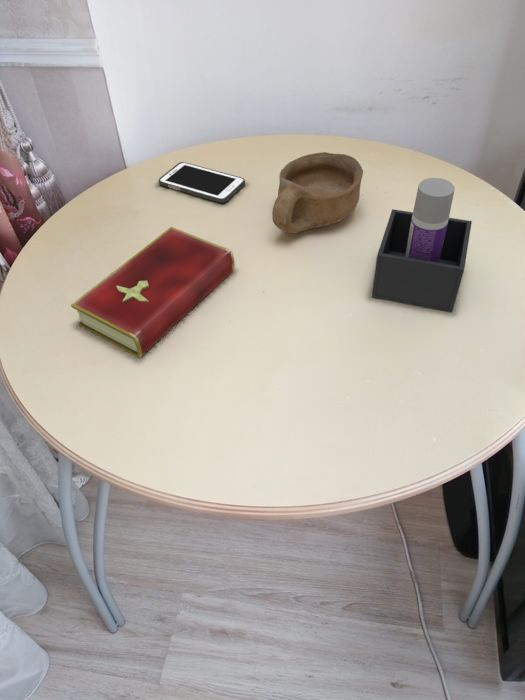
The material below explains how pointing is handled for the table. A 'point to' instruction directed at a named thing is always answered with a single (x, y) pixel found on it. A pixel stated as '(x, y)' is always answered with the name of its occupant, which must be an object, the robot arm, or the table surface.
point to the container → (430, 219)
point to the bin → (420, 266)
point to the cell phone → (202, 182)
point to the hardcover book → (153, 290)
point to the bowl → (316, 191)
